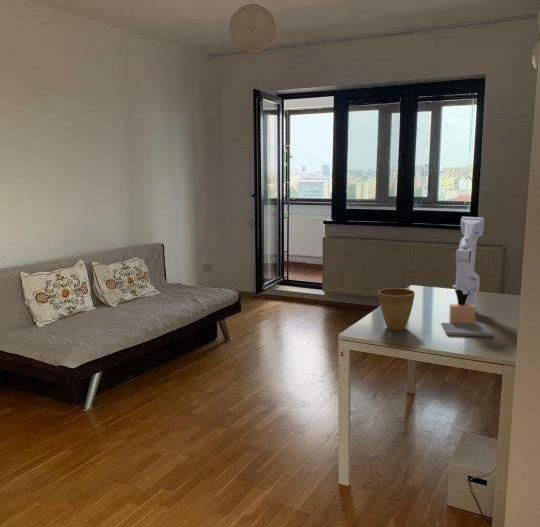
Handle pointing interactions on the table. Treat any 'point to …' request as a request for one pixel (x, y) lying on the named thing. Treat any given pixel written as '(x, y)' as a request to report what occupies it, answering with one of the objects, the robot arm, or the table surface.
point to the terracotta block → (462, 314)
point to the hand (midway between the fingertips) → (461, 306)
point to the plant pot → (396, 307)
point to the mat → (467, 330)
